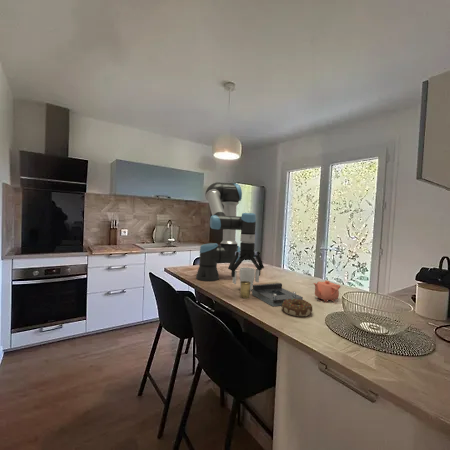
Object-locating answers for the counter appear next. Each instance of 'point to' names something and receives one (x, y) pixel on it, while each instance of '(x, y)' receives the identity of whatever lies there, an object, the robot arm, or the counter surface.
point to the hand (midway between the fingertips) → (245, 282)
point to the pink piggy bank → (326, 290)
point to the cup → (247, 275)
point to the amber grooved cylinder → (245, 289)
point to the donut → (297, 307)
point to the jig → (273, 294)
